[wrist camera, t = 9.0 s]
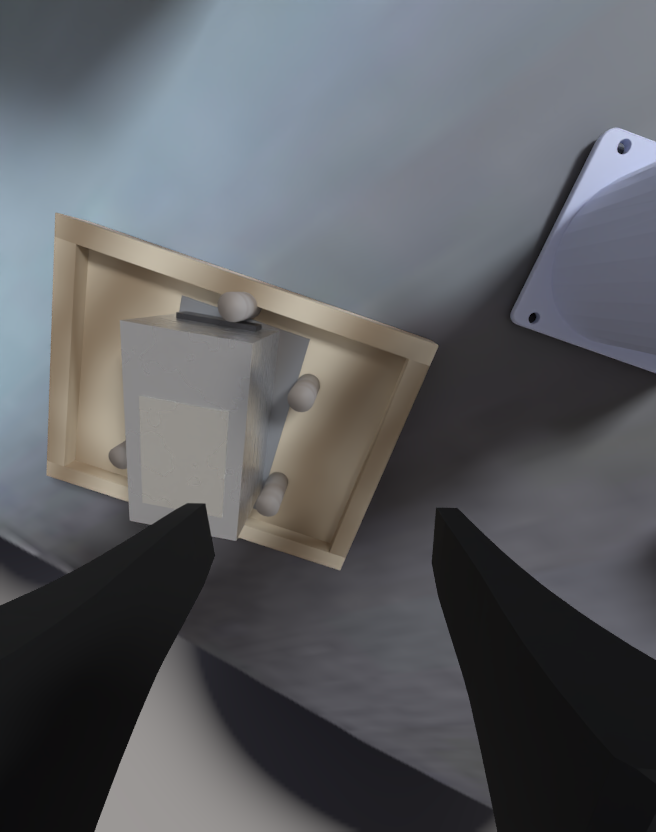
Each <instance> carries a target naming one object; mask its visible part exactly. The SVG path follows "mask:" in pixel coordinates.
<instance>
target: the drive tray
mask: <svg viewBox="0 0 656 832" xmlns="http://www.w3.org/2000/svg"><path fill="white" fill-rule="evenodd" d="M183 311H189V312H195V313H201V314H206V315H212V316H218V317H222V318H224V319H225V320H226V321H229V322H238V321H247V322H252V323H258V324H262V328H267V329H273V330H279V340H278V349H277V358H276V367H275V377H274V386H273V395H272V404H271V414H270V423H269V432H268V441H267V451H266V460H265V469H264V478H263V488H262V490H261V492H260V494H259V496H258V498H257V500H256V502H255V504H254V506H253V508H252V510H251V512H250V514H249V516H248V519H247V521H246V523H245V525H244V527H243V529H242V531H241V533H240V535H239V537H238V538H241V539H245V540H248V541H251V542H254V543H257V544H260V545H263V546H266V547H269V548H272V549H275V550H278V551H282V552H285V553H288V554H291V555H294V556H297V557H300V558H303V559H306V560H309V561H312V562H315V563H318V564H322V565H325V566H328V567H331V568H334V569H337V570H340V569H341V567H342V565H343V563H344V560H345V558H346V556H347V553H348V551H349V549H350V547H351V544H352V542H353V540H354V538H355V535H356V533H357V531H358V528H359V526H360V524H361V522H362V519H363V517H364V515H365V513H366V510H367V508H368V506H369V503H370V501H371V499H372V497H373V494H374V492H375V490H376V488H377V485H378V483H379V481H380V478H381V476H382V474H383V472H384V469H385V467H386V465H387V462H388V460H389V458H390V456H391V453H392V451H393V449H394V447H395V444H396V442H397V440H398V437H399V435H400V433H401V431H402V428H403V426H404V424H405V422H406V419H407V417H408V415H409V412H410V410H411V408H412V406H413V403H414V401H415V399H416V396H417V394H418V392H419V390H420V387H421V385H422V383H423V381H424V378H425V376H426V374H427V371H428V369H429V367H430V365H431V362H432V360H433V358H434V356H435V353H436V351H437V349H438V346H439V345H437V344H436V343H434V342H433V341H431V340H429V339H427V338H424V337H421V336H418V335H415V334H412V333H409V332H406V331H403V330H401V329H398V328H395V327H392V326H389V325H386V324H383V323H380V322H378V321H375V320H372V319H369V318H366V317H363V316H360V315H357V314H355V313H352V312H349V311H346V310H343V309H340V308H337V307H334V306H331V305H329V304H326V303H323V302H320V301H317V300H314V299H311V298H308V297H306V296H303V295H300V294H297V293H294V292H291V291H288V290H285V289H283V288H280V287H277V286H274V285H271V284H268V283H265V282H262V281H259V280H257V279H254V278H251V277H248V276H245V275H242V274H239V273H236V272H234V271H231V270H228V269H225V268H222V267H219V266H216V265H213V264H211V263H208V262H205V261H202V260H199V259H196V258H193V257H190V256H187V255H185V254H182V253H179V252H176V251H173V250H170V249H167V248H164V247H162V246H159V245H156V244H153V243H150V242H147V241H144V240H141V239H139V238H136V237H133V236H130V235H127V234H124V233H121V232H118V231H115V230H113V229H110V228H107V227H104V226H101V225H98V224H95V223H92V222H90V221H86V220H82V219H78V218H75V217H71V216H67V215H63V214H59V213H55V240H54V270H53V300H52V329H51V359H50V389H49V419H48V449H47V476H50V477H53V478H56V479H60V480H63V481H66V482H69V483H72V484H75V485H78V486H81V487H84V488H87V489H90V490H93V491H97V492H100V493H103V494H106V495H109V496H112V497H115V498H118V499H121V500H124V501H127V502H129V497H128V477H127V456H126V436H125V416H124V396H123V376H122V356H121V335H120V320H125V319H134V318H142V317H151V316H160V315H168V314H176V312H183Z"/></svg>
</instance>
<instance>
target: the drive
mask: <svg viewBox="0 0 656 832" xmlns="http://www.w3.org/2000/svg"><path fill="white" fill-rule="evenodd" d="M120 335H121V356H122V376H123V396H124V416H125V436H126V456H127V477H128V497H129V517H130V521H134V522H139V523H144V524H149V525H152V524H153V523H155V522H156V521H158V520H160V519H161V518H163V517H164V516H166V515H168V514H169V513H171V512H172V511H174V510H176V509H177V508H179V507H181V506H183V505H185V504H187V503H205V504H206V509H207V515H208V520H209V526H210V531H211V536H212V537H217V538H223V539H228V540H233V541H237V539H238V537H239V535H240V533H241V531H242V529H243V527H244V525H245V523H246V521H247V519H248V516H249V514H250V512H251V510H252V508H253V506H254V504H255V502H256V500H257V498H258V496H259V494H260V492H261V490H262V488H263V478H264V469H265V460H266V451H267V441H268V432H269V423H270V414H271V404H272V395H273V386H274V377H275V367H276V358H277V349H278V340H279V330H273V329H267V328H262V324H258V323H252V322H247V321H238V322H229V321H226V320H225V319H224V318H222V317H218V316H212V315H206V314H201V313H195V312H189V311H183V312H176V314H168V315H160V316H151V317H142V318H134V319H125V320H120Z"/></svg>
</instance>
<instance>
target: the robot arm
mask: <svg viewBox="0 0 656 832" xmlns="http://www.w3.org/2000/svg"><path fill="white" fill-rule="evenodd" d="M619 143H622V144H623V145H624V148H625V149H624V152H623V154H619V153H618V151H617V146H618V144H619ZM532 313H535V314H536V320H535V321H534V322H532V323H530V322H529V320H528V318H529V316H530V315H531V314H532ZM510 317H511V320H512V322H513V323H515V324H516V325H519V326H522V327H525V328H528V329H531V330H533V331H536V332H539V333H542V334H545V335H548V336H551V337H553V338H556V339H559V340H562V341H565V342H568V343H571V344H573V345H576V346H579V347H582V348H585V349H588V350H590V351H593V352H596V353H599V354H602V355H605V356H608V357H610V358H613V359H616V360H619V361H622V362H625V363H627V364H630V365H633V366H636V367H639V368H642V369H645V370H647V371H650V372H653V373H656V142H655V141H653V140H650V139H647V138H645V137H642V136H639V135H636V134H634V133H631V132H628V131H626V130H623V129H620V128H612V129H609V130H607V131H606V132H604V133H603V134H602V135H600V136H599V138H598V139H597V140H596V142H595V144H594V146H593V148H592V150H591V152H590V154H589V156H588V158H587V160H586V162H585V164H584V166H583V168H582V170H581V172H580V174H579V176H578V178H577V180H576V182H575V184H574V186H573V188H572V190H571V192H570V194H569V196H568V198H567V200H566V202H565V204H564V206H563V208H562V210H561V212H560V214H559V216H558V218H557V220H556V222H555V224H554V226H553V228H552V230H551V232H550V234H549V236H548V238H547V240H546V242H545V245H544V247H543V249H542V251H541V253H540V255H539V257H538V259H537V261H536V263H535V265H534V267H533V269H532V271H531V273H530V275H529V277H528V279H527V281H526V283H525V285H524V287H523V289H522V291H521V293H520V295H519V297H518V299H517V301H516V303H515V305H514V307H513V309H512V311H511V314H510ZM214 556H215V553H214V548H213V542H212V537H211V531H210V526H209V520H208V515H207V509H206V504H205V503H187V504H185V505H183V506H181V507H179V508H177V509H176V510H174V511H172V512H171V513H169V514H168V515H166V516H164V517H163V518H161V519H160V520H158V521H156V522H155V523H153V524H152V525H150V526H149V527H147V528H145V529H144V530H142V531H141V532H139V533H137V534H136V535H134V536H133V537H131V538H130V539H128V540H126V541H125V542H123V543H121V544H120V545H118V546H116V547H115V548H113V549H111V550H109V551H108V552H106V553H104V554H103V555H101V556H99V557H98V558H96V559H94V560H92V561H91V562H89V563H87V564H85V565H83V566H82V567H80V568H78V569H76V570H74V571H72V572H70V573H69V574H67V575H65V576H63V577H61V578H59V579H57V580H55V581H53V582H51V583H49V584H47V585H45V586H43V587H41V588H38V589H36V590H34V591H32V592H30V593H28V594H25V595H23V596H21V597H18V598H16V599H14V600H12V601H10V602H7V603H5V604H3V605H0V832H94V831H95V828H96V825H97V823H98V820H99V817H100V815H101V812H102V809H103V807H104V804H105V801H106V799H107V796H108V793H109V791H110V788H111V785H112V783H113V780H114V777H115V775H116V772H117V769H118V767H119V764H120V761H121V759H122V757H123V754H124V751H125V749H126V747H127V744H128V742H129V739H130V736H131V734H132V732H133V729H134V726H135V724H136V722H137V719H138V717H139V715H140V712H141V710H142V708H143V705H144V702H145V701H146V698H147V696H148V694H149V691H150V689H151V686H152V684H153V682H154V680H155V677H156V675H157V673H158V671H159V669H160V667H161V665H162V663H163V661H164V659H165V657H166V655H167V653H168V651H169V649H170V648H171V646H172V644H173V642H174V640H175V638H176V637H177V635H178V633H179V631H180V629H181V627H182V625H183V624H184V622H185V620H186V618H187V616H188V614H189V612H190V610H191V609H192V607H193V605H194V603H195V601H196V599H197V597H198V595H199V593H200V591H201V589H202V587H203V585H204V583H205V580H206V578H207V575H208V573H209V570H210V567H211V565H212V562H213V559H214ZM432 566H433V572H434V577H435V583H436V588H437V593H438V597H439V600H440V604H441V607H442V610H443V614H444V617H445V620H446V623H447V627H448V630H449V633H450V636H451V639H452V642H453V646H454V649H455V652H456V655H457V658H458V662H459V665H460V668H461V671H462V674H463V678H464V681H465V685H466V688H467V692H468V696H469V700H470V704H471V709H472V713H473V718H474V722H475V727H476V731H477V736H478V740H479V745H480V749H481V754H482V759H483V764H484V768H485V773H486V778H487V783H488V787H489V792H490V797H491V802H492V807H493V812H494V817H495V822H496V827H497V832H656V660H655V659H653V658H651V657H650V656H648V655H646V654H644V653H643V652H641V651H639V650H638V649H636V648H634V647H633V646H631V645H629V644H628V643H626V642H625V641H623V640H622V639H620V638H618V637H617V636H615V635H614V634H612V633H610V632H609V631H607V630H606V629H604V628H603V627H601V626H599V625H598V624H596V623H595V622H593V621H592V620H590V619H589V618H587V617H586V616H584V615H583V614H582V613H580V612H579V611H577V610H576V609H574V608H573V607H572V606H570V605H569V604H568V603H566V602H565V601H563V600H562V599H561V598H559V597H558V596H556V595H555V594H554V593H552V592H551V591H550V590H548V589H547V588H546V587H544V586H543V585H542V584H541V583H539V582H538V581H537V580H536V579H534V578H533V577H532V576H531V575H529V574H528V573H527V572H526V571H525V570H523V569H522V568H521V567H520V566H519V565H517V564H516V563H515V562H514V561H513V560H512V559H510V558H509V557H508V556H507V555H506V554H505V553H504V552H503V551H501V550H500V549H499V548H498V547H497V546H496V545H495V544H494V543H493V542H492V541H491V540H490V539H489V538H487V537H486V536H485V535H484V534H483V533H482V532H481V531H480V530H479V529H478V528H477V527H476V526H475V525H474V524H473V523H472V522H471V521H470V520H469V519H468V518H467V517H466V516H465V515H464V514H463V513H462V512H461V511H460V510H459V509H458V508H436V517H435V529H434V542H433V554H432Z"/></svg>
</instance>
